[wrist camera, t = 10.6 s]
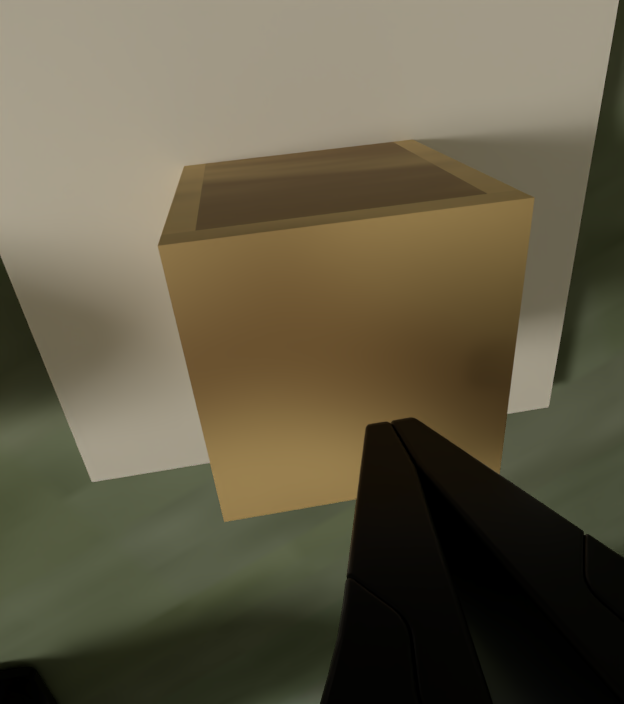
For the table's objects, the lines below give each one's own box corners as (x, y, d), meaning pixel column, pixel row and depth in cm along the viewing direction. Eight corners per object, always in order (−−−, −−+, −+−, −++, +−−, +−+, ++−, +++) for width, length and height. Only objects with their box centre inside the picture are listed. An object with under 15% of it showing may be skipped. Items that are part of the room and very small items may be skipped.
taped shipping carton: (410, 337, 19) (499, 474, 13) (223, 365, 18) (223, 521, 12) (412, 139, 15) (535, 197, 9) (183, 166, 15) (157, 246, 9)
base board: (530, 386, 23) (630, 497, 17) (100, 455, 21) (55, 601, 16) (594, -51, 15) (815, -111, 9) (-71, 9, 14) (-277, -19, 8)
